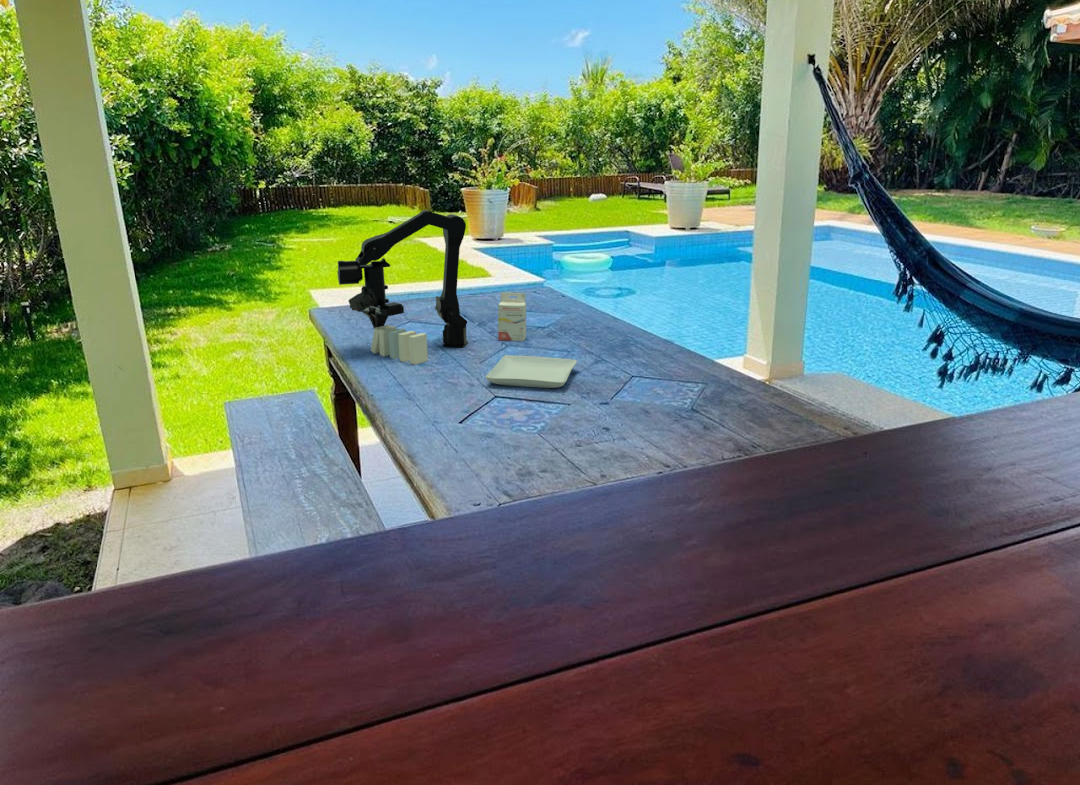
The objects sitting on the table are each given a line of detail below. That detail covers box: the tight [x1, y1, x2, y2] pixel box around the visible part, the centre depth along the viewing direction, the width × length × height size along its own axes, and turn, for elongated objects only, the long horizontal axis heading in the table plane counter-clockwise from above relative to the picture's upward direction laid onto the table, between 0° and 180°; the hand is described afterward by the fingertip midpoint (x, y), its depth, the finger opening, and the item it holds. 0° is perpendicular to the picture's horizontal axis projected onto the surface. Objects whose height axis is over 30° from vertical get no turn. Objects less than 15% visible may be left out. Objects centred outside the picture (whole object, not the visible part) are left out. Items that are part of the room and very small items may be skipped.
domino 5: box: [409, 332, 429, 366], centre depth 221 cm, size 2×5×8 cm, turn 140°
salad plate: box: [485, 354, 578, 389], centre depth 207 cm, size 21×21×3 cm
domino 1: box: [370, 324, 391, 354], centre depth 231 cm, size 2×5×8 cm, turn 140°
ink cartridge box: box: [497, 292, 527, 342], centre depth 245 cm, size 9×5×15 cm, turn 84°
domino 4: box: [398, 330, 417, 363], centre depth 223 cm, size 2×5×8 cm, turn 140°
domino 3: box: [388, 328, 407, 360], centre depth 226 cm, size 2×5×8 cm, turn 140°
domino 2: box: [379, 325, 398, 357], centre depth 229 cm, size 2×5×8 cm, turn 140°
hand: (378, 334), depth 231 cm, fingers closed
